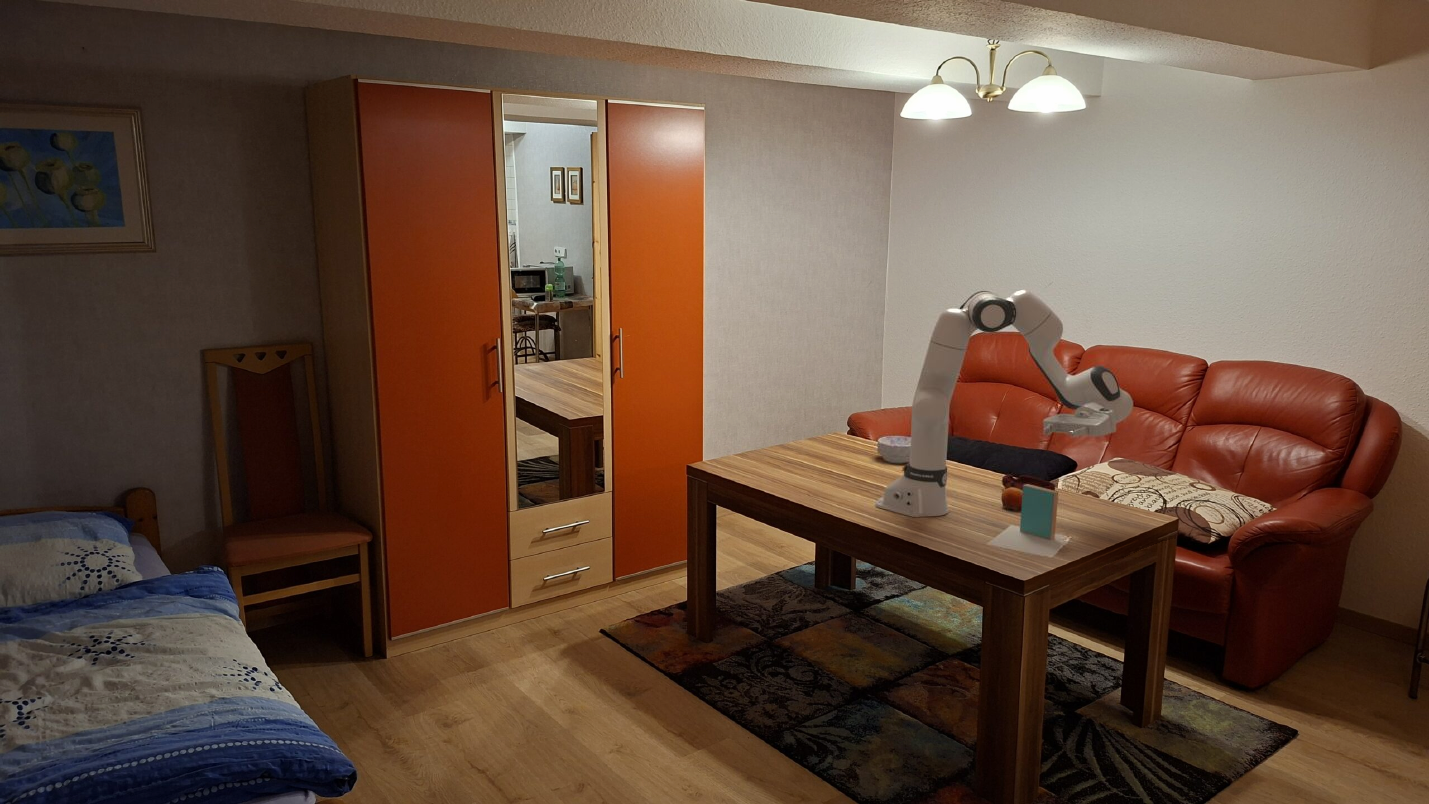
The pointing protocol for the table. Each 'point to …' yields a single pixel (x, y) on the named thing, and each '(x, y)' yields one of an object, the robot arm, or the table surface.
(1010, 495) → the fruit
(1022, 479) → the ashtray
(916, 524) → the table surface
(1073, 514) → the table surface
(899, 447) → the white patterned bowl
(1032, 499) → the tile
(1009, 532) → the mat
